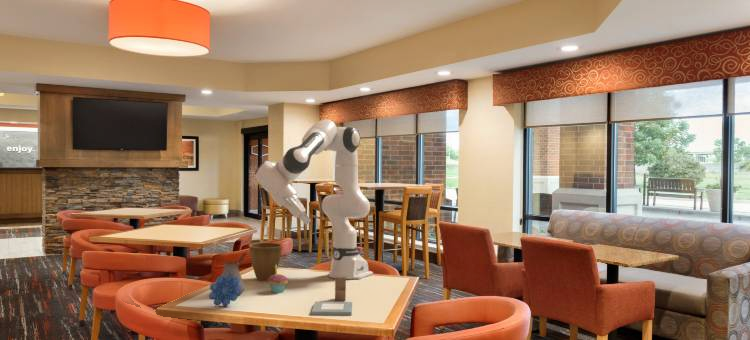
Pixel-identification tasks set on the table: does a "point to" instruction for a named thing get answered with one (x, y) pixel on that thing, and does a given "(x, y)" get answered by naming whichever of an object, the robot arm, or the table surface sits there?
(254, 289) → the table surface
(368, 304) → the table surface
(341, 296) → the walnut block
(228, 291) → the grapes
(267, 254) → the plant pot
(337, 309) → the plate
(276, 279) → the cupcake
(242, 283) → the coffee pot
